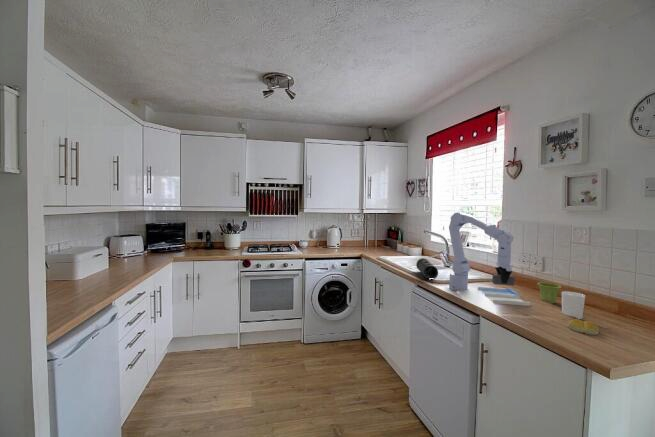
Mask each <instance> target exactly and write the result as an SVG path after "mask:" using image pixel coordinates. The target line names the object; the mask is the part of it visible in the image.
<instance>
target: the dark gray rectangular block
mask: <svg viewBox="0 0 655 437" xmlns="http://www.w3.org/2000/svg"><path fill="white" fill-rule="evenodd" d="M491 281H492V283H493V285H499V286H511V287H512V286H515V276H514V275H512V274H510V276H509V279H508V282H507V284H506V283H502V281H501V275H499V274H497V273H495V274H494V273H492V280H491Z"/></svg>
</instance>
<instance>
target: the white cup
mask: <svg viewBox="0 0 655 437" xmlns="http://www.w3.org/2000/svg"><path fill="white" fill-rule="evenodd" d="M585 299H586V295H585V294H583V293H580V292H574V291H561V313H562V314H563V315H565V316H568V317H569V316H570V317H573V318H575V319H578V320H582V319H583V316H584V315H583V314H584V313H583V312H584V309H585V308H584V307H585Z"/></svg>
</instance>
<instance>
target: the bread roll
mask: <svg viewBox="0 0 655 437" xmlns="http://www.w3.org/2000/svg"><path fill="white" fill-rule="evenodd" d="M567 326H568V328H569V329H571V330H572V331H574V332H577V333H579V334H580V333H581V334H586V335H588V336H589V335H591V336H597V335H599V326H598V325H597V324H596V323H594V322H593V321H591V320H590V321H589V320H585V321H583V320H582V319H577V318H573V319H571V320H569V322H568V323H567Z"/></svg>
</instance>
